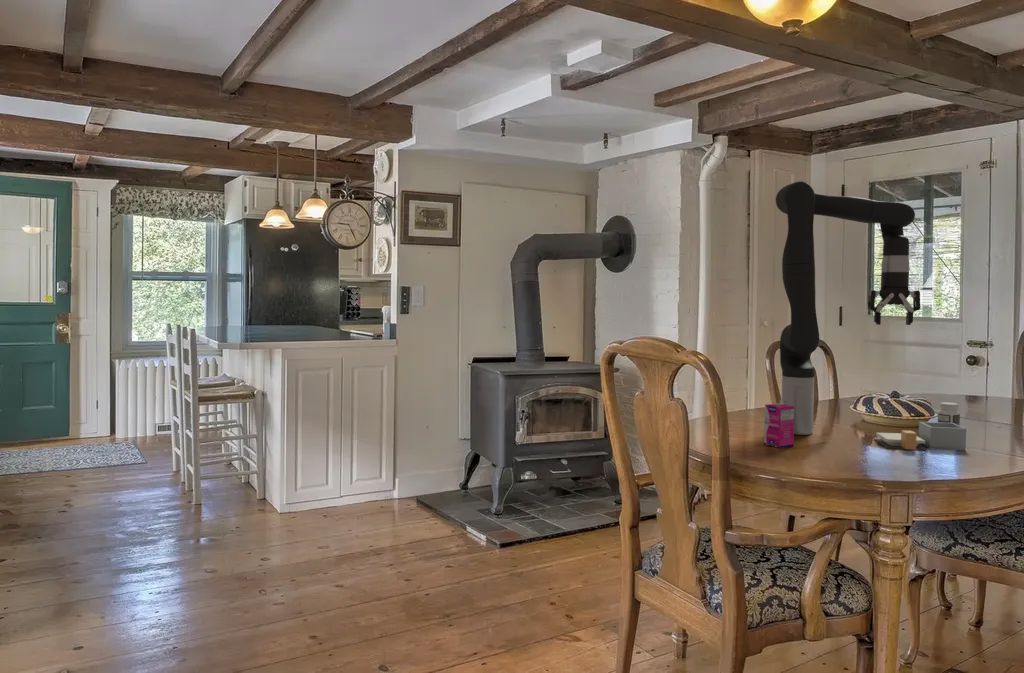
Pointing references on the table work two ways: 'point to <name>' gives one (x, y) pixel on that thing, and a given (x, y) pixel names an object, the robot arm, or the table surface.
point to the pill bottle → (949, 413)
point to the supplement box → (779, 425)
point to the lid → (902, 439)
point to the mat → (896, 446)
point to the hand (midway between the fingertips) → (893, 324)
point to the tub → (942, 435)
